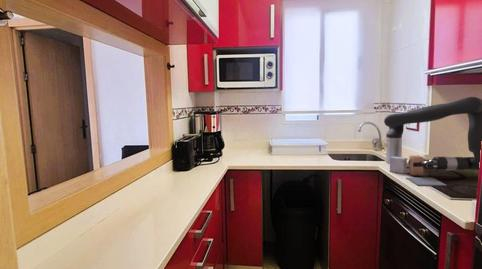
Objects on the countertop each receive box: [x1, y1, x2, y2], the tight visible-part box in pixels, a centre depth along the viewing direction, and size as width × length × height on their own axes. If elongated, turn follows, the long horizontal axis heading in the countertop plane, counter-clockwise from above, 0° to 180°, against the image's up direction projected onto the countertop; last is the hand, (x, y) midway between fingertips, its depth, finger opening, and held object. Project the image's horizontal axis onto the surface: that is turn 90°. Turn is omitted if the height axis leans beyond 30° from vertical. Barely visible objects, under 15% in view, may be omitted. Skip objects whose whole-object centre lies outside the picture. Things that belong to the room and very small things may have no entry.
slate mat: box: [405, 177, 447, 187], centre depth 142 cm, size 13×13×1 cm
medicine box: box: [389, 156, 408, 174], centre depth 162 cm, size 8×4×9 cm, turn 41°
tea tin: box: [408, 155, 425, 176], centre depth 153 cm, size 5×5×10 cm
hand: (411, 163), depth 153 cm, fingers closed on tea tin, 5 cm apart
